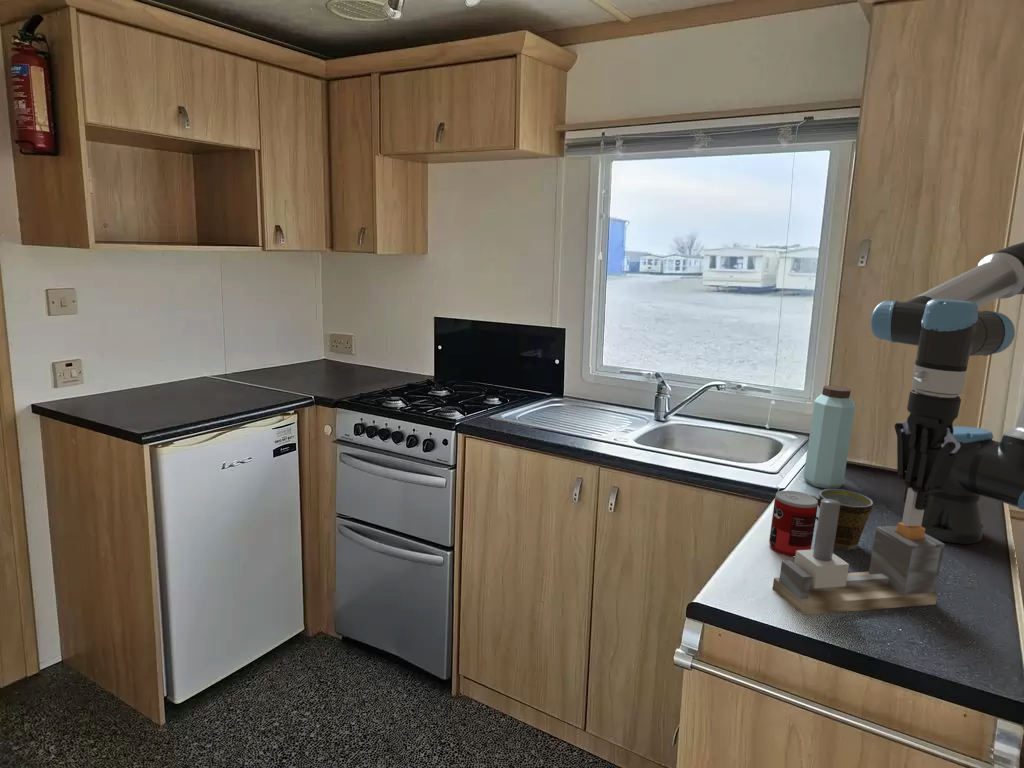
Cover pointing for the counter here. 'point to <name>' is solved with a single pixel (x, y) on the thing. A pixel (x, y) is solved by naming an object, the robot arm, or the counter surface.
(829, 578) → the carriage
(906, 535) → the button
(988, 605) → the counter surface
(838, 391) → the water bottle
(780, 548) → the canned food
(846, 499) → the ceramic cup
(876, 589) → the rail stand
